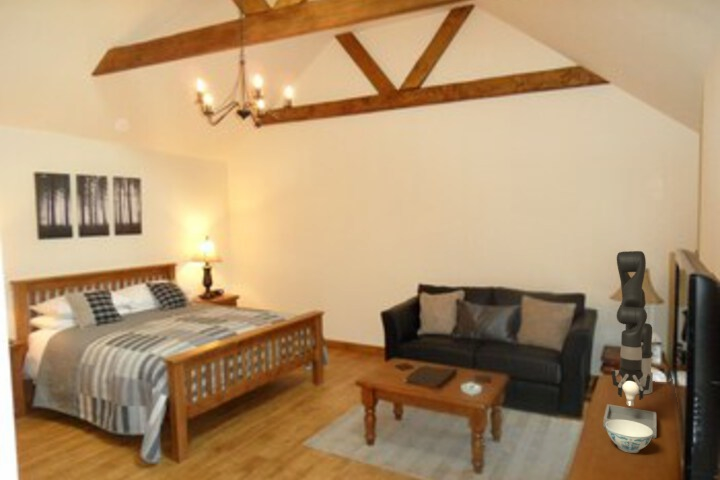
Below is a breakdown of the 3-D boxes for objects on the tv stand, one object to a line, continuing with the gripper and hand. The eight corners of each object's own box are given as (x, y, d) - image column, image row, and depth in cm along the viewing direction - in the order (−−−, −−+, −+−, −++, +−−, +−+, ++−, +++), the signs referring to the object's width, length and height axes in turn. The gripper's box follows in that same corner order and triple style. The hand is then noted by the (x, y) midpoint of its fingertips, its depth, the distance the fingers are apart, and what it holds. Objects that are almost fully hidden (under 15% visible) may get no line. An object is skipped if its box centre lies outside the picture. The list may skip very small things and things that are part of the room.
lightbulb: (622, 407, 197) (623, 380, 196) (620, 402, 203) (621, 375, 202) (640, 410, 194) (641, 382, 194) (637, 404, 200) (638, 378, 200)
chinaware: (599, 448, 178) (599, 427, 178) (613, 435, 189) (613, 416, 188) (645, 463, 168) (645, 440, 167) (657, 448, 178) (658, 427, 178)
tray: (607, 413, 211) (607, 404, 210) (656, 421, 201) (656, 412, 201) (603, 428, 195) (603, 418, 195) (656, 438, 186) (656, 428, 186)
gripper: (651, 356, 197) (651, 398, 197) (611, 352, 204) (611, 391, 205) (651, 361, 190) (651, 404, 191) (610, 356, 198) (609, 397, 198)
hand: (630, 397), depth 198 cm, fingers closed on lightbulb, 6 cm apart
